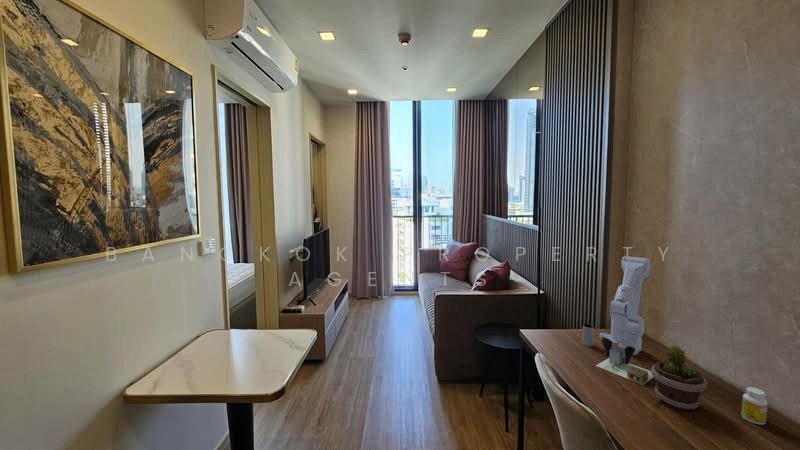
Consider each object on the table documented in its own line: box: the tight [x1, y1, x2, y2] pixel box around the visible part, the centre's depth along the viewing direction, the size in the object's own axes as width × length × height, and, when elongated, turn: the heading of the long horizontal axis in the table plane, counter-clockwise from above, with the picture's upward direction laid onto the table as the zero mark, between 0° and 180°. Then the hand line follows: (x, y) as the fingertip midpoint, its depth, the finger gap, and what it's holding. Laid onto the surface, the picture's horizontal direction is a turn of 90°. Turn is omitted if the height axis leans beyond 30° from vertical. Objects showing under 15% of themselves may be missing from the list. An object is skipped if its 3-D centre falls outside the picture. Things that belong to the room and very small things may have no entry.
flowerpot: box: [650, 342, 708, 411], centre depth 113 cm, size 14×15×20 cm
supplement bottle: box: [741, 386, 769, 425], centre depth 104 cm, size 5×5×10 cm
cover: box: [627, 366, 649, 383], centre depth 126 cm, size 5×5×3 cm
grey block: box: [608, 344, 625, 367], centre depth 139 cm, size 6×4×6 cm, turn 123°
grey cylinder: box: [581, 323, 595, 347], centre depth 156 cm, size 4×4×10 cm
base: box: [595, 357, 654, 386], centre depth 133 cm, size 13×17×3 cm
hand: (617, 359), depth 139 cm, fingers open, 6 cm apart
